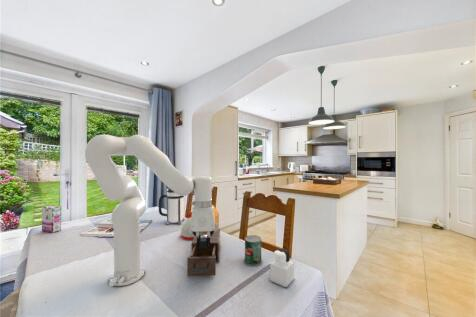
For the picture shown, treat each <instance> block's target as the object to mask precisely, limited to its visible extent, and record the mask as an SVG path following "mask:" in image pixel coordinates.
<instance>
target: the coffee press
mask: <svg viewBox="0 0 476 317" xmlns="http://www.w3.org/2000/svg"><path fill="white" fill-rule="evenodd" d="M184 197H185V196H181V195H178V194H176V193H175V192H174V191H172V190H171V189H170V188H169V187H167V189H166V194H163V195H160V197H159V198H158V213H159V215H160V216H162V217H166V221H165V225H169V224H170V223H172V224H175V223H177V225H182V221H184V222H185V218H184ZM164 198H166V213H164V212H163V211H162V200H163V199H164Z"/></svg>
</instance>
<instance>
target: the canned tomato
mask: <svg viewBox="0 0 476 317" xmlns="http://www.w3.org/2000/svg"><path fill="white" fill-rule="evenodd" d="M244 262H245V264H246V265H248V266H253V267H255V266H259V265H261V263H262V238H261V236H258V235H253V234H251V235H247V236H245V237H244Z"/></svg>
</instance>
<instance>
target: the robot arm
mask: <svg viewBox="0 0 476 317" xmlns="http://www.w3.org/2000/svg"><path fill="white" fill-rule="evenodd" d="M113 156H114V157H118V156H119V157H120V156H122V157H123V156H126V157H127V156H134V157H135V158H136V159H137V160H139V162H141V163H142V164H144V165H145V166H146V167H147V168H148V169H150V170H151V171H152V172H153V174H154V175H155V176H156V177H157V178H158V179H159V180H160V181H161V182H162V183H163V184H164V185H165V186H166V187H167V188H170V189H171V190H172V191H174V192H175V193H176V194H178V195H181V196H184V197H186V196H188V195H190V194H191V193H192V192H194V195H193V196H194V200H193V201H191V202H190V205H191V206H193V207H192V210H191V212H192V217H191V226H190V228H189V230H188V231H189V232H191V233H193V234H194V235H195V236H196V238H197V244H198V247H200V243H199V241H200V239H201V236H200V232H206V231H207V238H206V241H207V247H208V246H209V244H210V236H211V235H212V234H213V233H215V232H217V231H218V227H217V225H216V223H215V214H214V208H213V206H212V205H213V197H212V196H213V193H212V192H213V188H212V187H213V186H212V183H213V180H212V177H211V176H209V175H198V176H193V175H184V174H183V173H182V172H180V170H179V169H177V168H176V167H175V166H174V165H173V163H172V162H171V161H170V160H171V159H170V158H169V157H168V155H166V154H165V153H164V152H163V151H161V150H160V149H159V148H158V147H157V146H156V145H154V142H153V141H152V140H151V138H149V137H147V136H145V135H142V134H134V135H131V136H130V137H128V136H115V135H111V134H106V133H105V134H103V133H102V134H98V135H95V136H93V137H92V138H91V139H89V141H88V142H87V144H86V145H85V149H84V157H85V161H86V163H87V165H88V167H89V168H90V171H92V174H93V176H94V178H95V180H96V182H97V185H98V186H99V188H100V190H101V192H102V194H103V196H104V197H105V199H107V200H108V201H110V202H118V201H119V202H120V203H118V204H117V205H116V206H115V208H114V209H113V210H112V213H111V224H112V228H113V273H112V274H111V275H110V277H109V282H108V286H109V287H110V288H112V287H123V286H127V285H131V284H134V283H136V282H137V281H139V280H140V279H142V277H143V276H144V274H145V268H144V267H142V266H141V229H140V228H141V227H140V223H139V222H140V221H139V218H140V217H142V216H143V214H144V213H145V212H146V210H147V204H146V201H145V198H144V196H143V194H142V193H141V191H140V188H139V186H138V184H137V182H136V181H135V180H134V179H133V178H132V177H130V176H127V175H122V173H121V172H120V170H119V167H118V166H117V164H116V163H115V162H114V160H113V159H112V157H113Z"/></svg>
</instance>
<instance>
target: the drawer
mask: <svg viewBox="0 0 476 317" xmlns="http://www.w3.org/2000/svg"><path fill="white" fill-rule="evenodd" d="M190 253H191V252H190ZM216 264H217V262H216V245H209V246H208V247H207V248H200V247H198V245H195V246H194V248H193V251H192V253H191V254H190V256H187V259H186V271H187V272H186V275H187V277H216V274H217V272H216V271H217V270H216V269H217V266H216Z"/></svg>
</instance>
